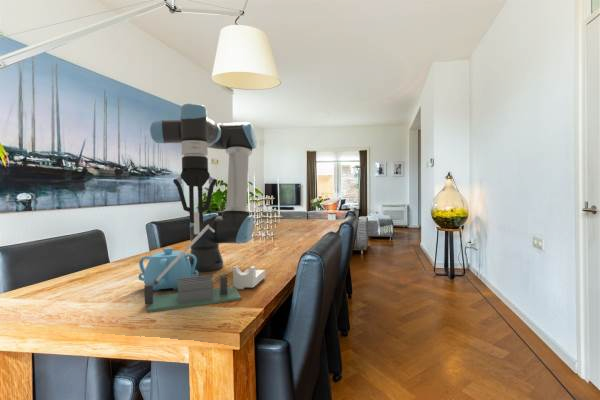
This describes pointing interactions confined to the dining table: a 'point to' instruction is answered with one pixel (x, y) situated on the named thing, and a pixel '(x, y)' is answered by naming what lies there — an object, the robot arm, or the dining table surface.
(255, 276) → the bracket
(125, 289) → the dining table surface
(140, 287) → the dining table surface
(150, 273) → the decorative pot
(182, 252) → the strap
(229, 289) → the heatsink board
